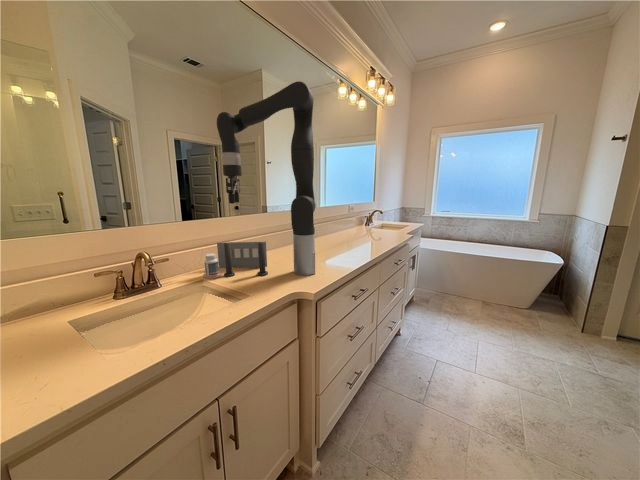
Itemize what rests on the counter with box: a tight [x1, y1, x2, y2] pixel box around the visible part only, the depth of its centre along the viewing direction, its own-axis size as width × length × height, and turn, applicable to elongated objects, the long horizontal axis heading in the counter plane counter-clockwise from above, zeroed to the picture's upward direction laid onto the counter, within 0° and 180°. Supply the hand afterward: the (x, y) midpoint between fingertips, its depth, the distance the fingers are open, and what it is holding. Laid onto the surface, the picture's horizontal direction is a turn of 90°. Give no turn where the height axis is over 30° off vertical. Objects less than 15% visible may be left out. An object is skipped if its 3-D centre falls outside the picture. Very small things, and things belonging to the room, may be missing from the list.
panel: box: [216, 241, 268, 269], centre depth 118 cm, size 22×2×12 cm, turn 95°
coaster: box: [201, 271, 224, 280], centre depth 108 cm, size 8×8×1 cm
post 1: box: [223, 243, 236, 278], centre depth 107 cm, size 4×4×14 cm
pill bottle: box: [204, 253, 220, 277], centre depth 107 cm, size 5×5×9 cm
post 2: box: [257, 241, 269, 277], centre depth 108 cm, size 4×4×14 cm
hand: (234, 202), depth 112 cm, fingers open, 8 cm apart
